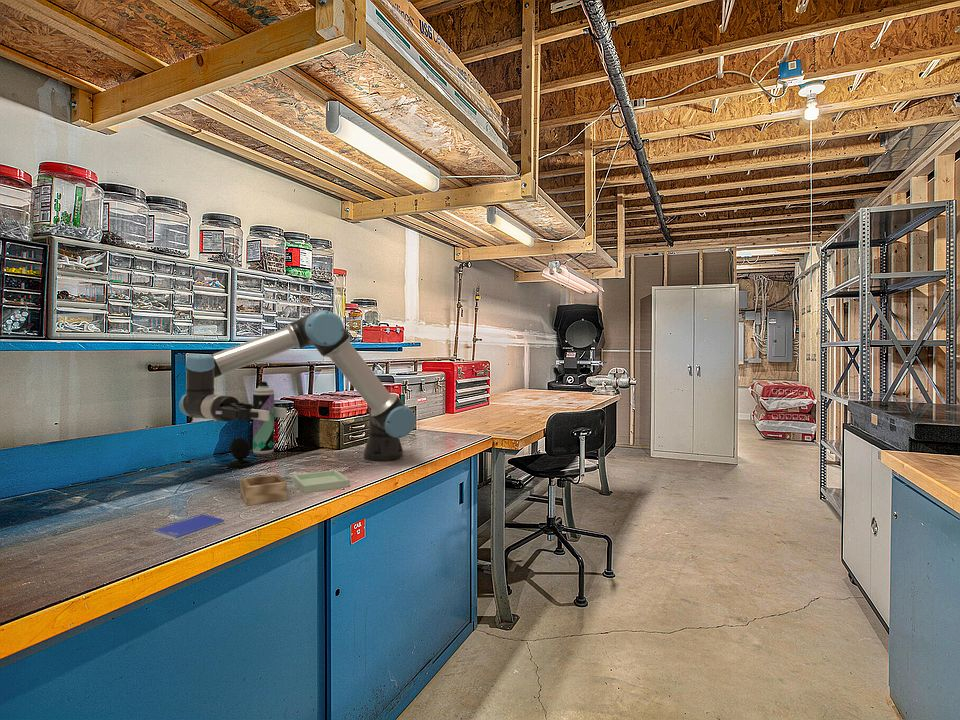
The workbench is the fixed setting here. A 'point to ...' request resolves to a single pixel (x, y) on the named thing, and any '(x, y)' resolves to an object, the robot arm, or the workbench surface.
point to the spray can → (262, 429)
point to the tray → (320, 481)
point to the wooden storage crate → (263, 489)
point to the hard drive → (187, 527)
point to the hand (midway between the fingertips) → (276, 414)
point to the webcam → (240, 453)
